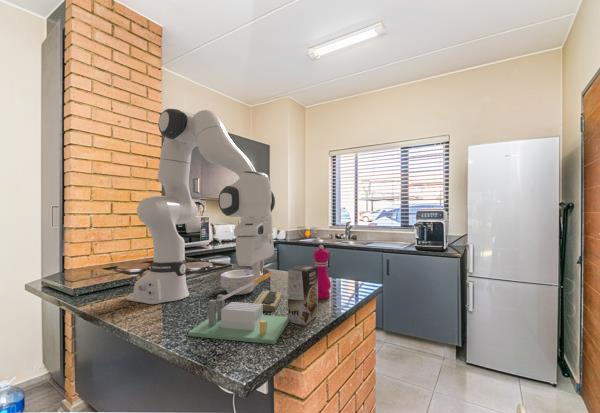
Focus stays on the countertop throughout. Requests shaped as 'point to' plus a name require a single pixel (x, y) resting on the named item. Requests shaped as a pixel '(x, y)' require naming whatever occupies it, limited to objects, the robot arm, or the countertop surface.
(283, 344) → the countertop surface
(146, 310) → the countertop surface
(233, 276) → the paper bowls
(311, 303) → the coffee box
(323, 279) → the pepper mill
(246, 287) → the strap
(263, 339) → the heatsink board
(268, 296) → the computer
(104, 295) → the countertop surface
